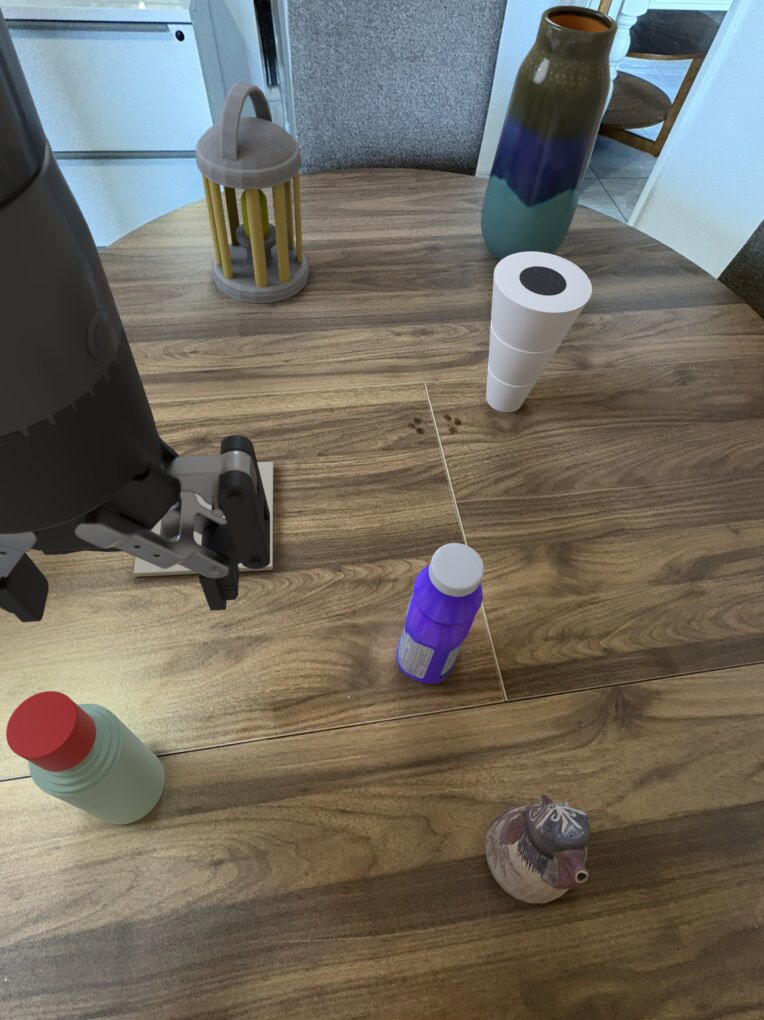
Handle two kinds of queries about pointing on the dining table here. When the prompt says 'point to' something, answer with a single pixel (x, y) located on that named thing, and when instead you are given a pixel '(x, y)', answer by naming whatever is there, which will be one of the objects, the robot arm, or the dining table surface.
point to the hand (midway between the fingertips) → (130, 598)
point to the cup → (529, 321)
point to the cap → (51, 731)
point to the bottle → (440, 613)
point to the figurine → (539, 850)
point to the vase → (548, 133)
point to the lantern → (253, 201)
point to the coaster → (152, 570)
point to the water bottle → (108, 774)
